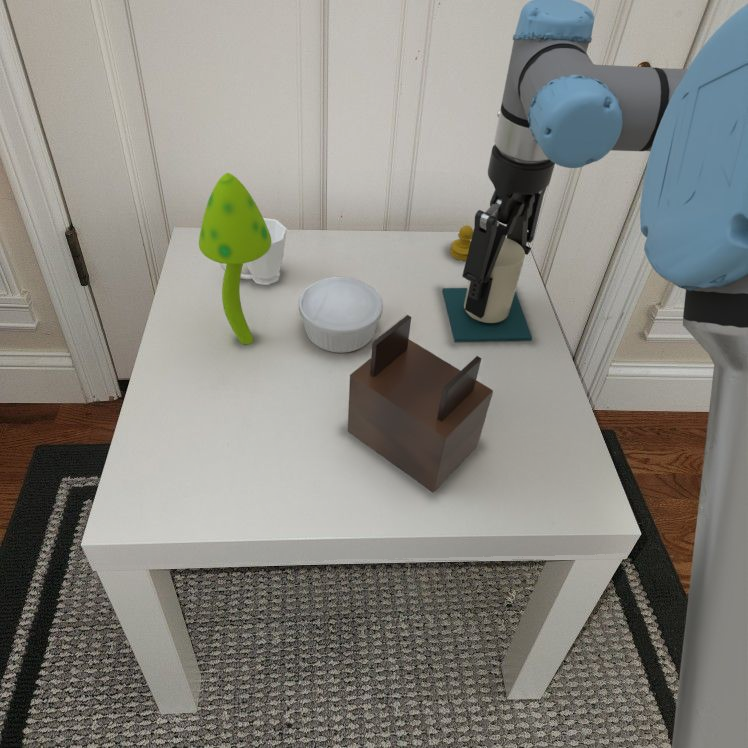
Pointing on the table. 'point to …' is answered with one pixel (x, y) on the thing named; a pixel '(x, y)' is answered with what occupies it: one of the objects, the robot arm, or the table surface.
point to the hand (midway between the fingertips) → (488, 300)
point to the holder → (417, 407)
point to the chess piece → (462, 243)
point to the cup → (268, 256)
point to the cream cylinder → (502, 283)
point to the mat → (480, 331)
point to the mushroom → (233, 243)
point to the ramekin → (340, 313)
